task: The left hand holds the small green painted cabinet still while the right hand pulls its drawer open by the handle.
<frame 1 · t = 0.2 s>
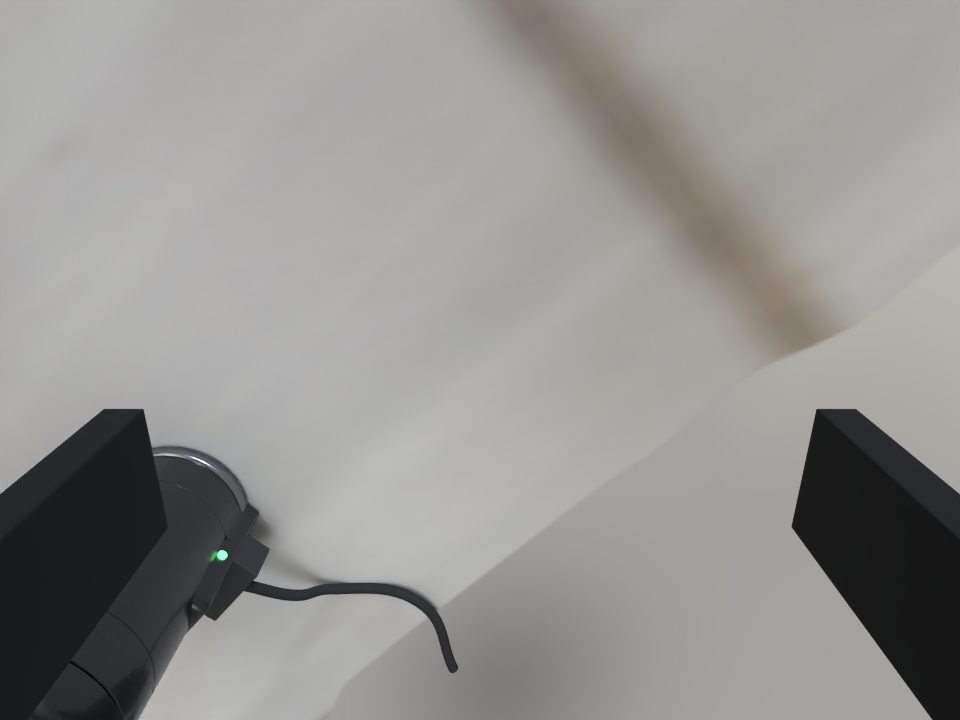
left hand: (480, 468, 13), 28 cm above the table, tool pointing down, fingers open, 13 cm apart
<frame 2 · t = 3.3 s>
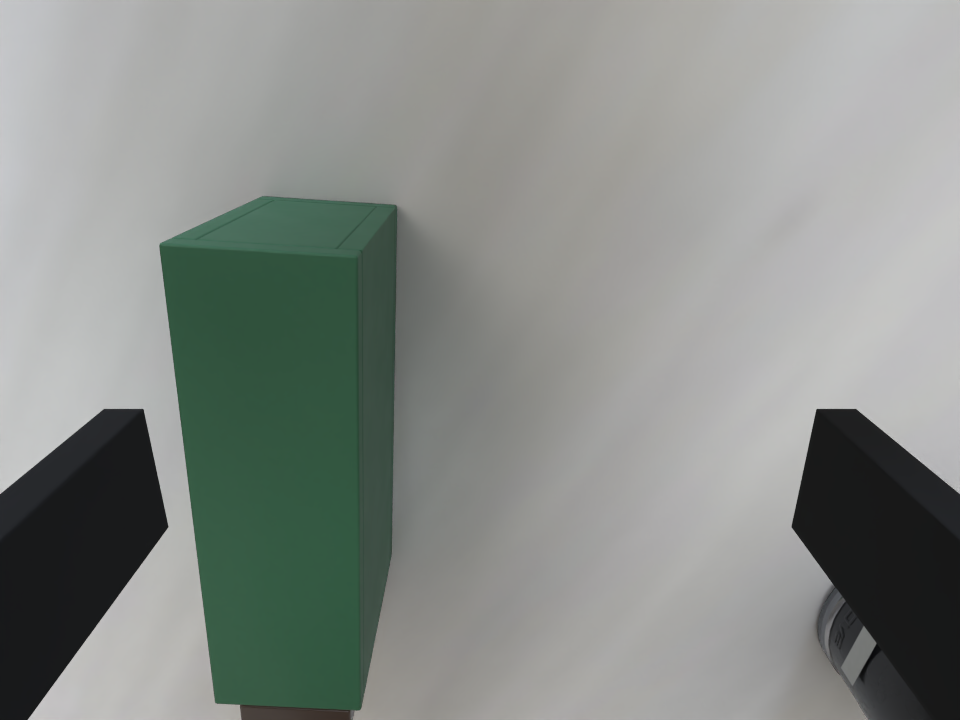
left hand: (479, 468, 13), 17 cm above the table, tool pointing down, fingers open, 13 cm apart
drawer: (313, 553, 29), point 5 cm above the table, slide at 1.1 cm
cabinet: (333, 395, 32), on the table
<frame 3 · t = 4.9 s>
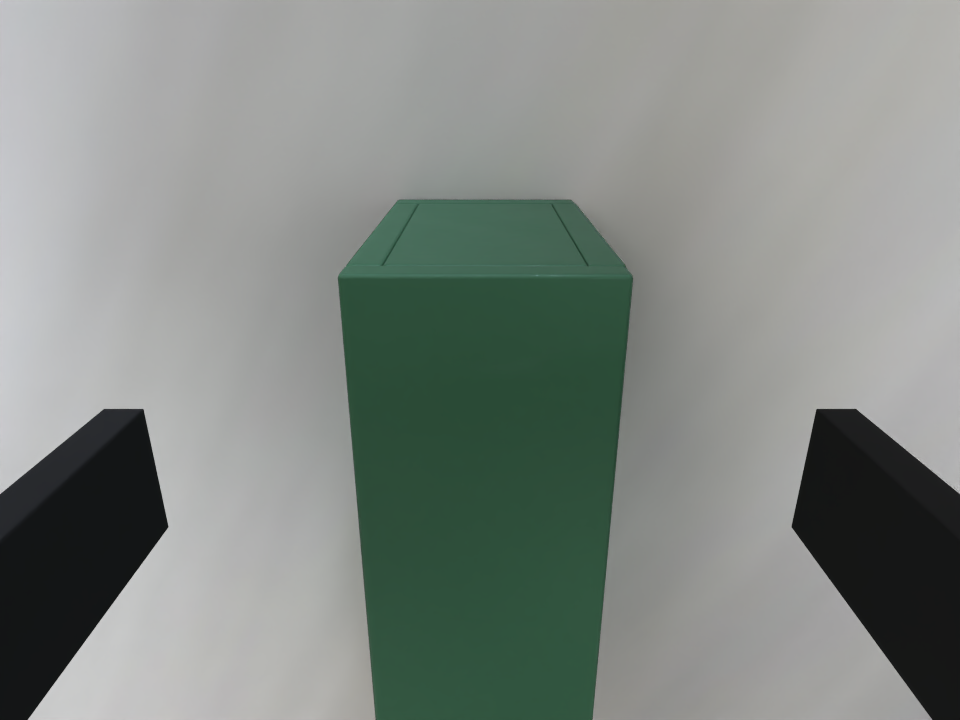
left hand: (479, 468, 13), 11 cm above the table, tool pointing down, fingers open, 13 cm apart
cabinet: (484, 444, 25), on the table
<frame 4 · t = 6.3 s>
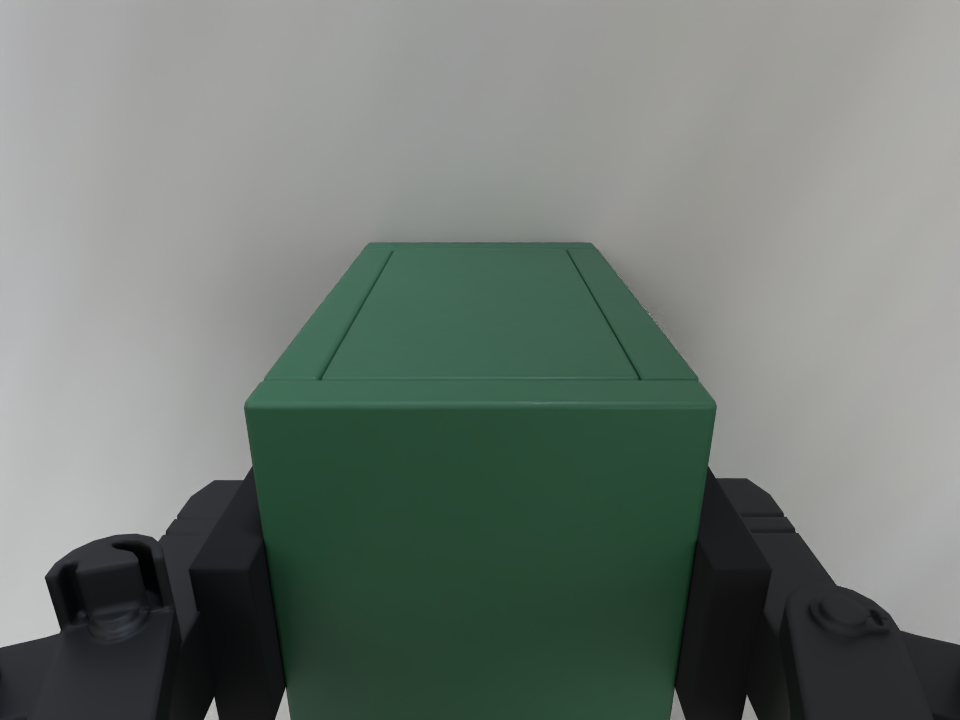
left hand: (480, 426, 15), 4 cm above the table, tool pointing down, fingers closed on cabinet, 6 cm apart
cabinet: (480, 538, 20), on the table, touching left hand
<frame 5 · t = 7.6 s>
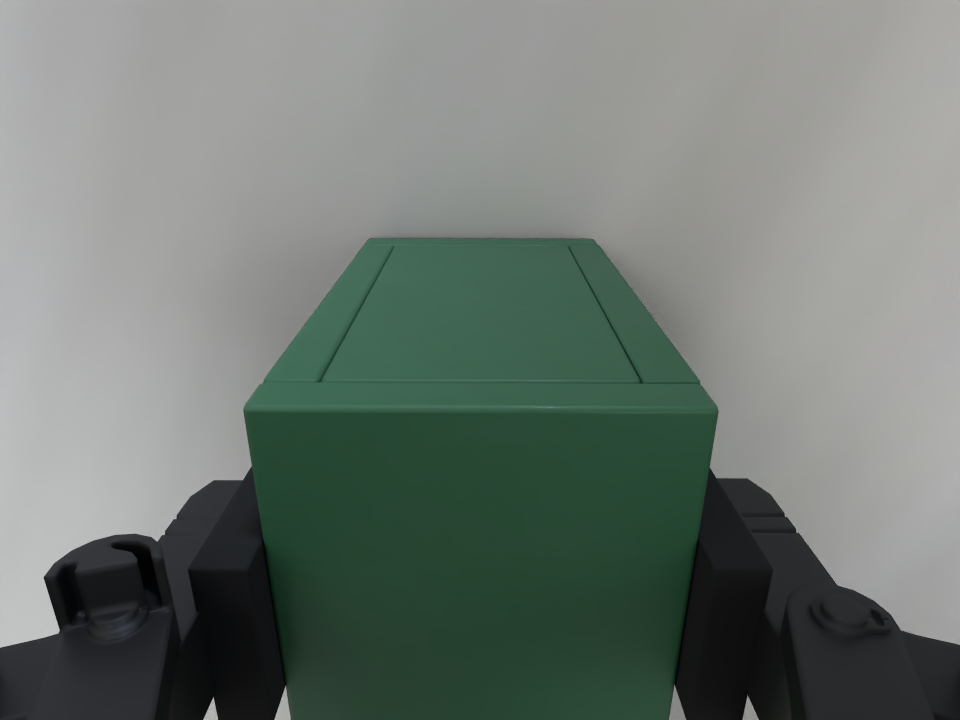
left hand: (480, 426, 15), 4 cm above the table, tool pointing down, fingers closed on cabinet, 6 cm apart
cabinet: (480, 533, 20), on the table, touching left hand
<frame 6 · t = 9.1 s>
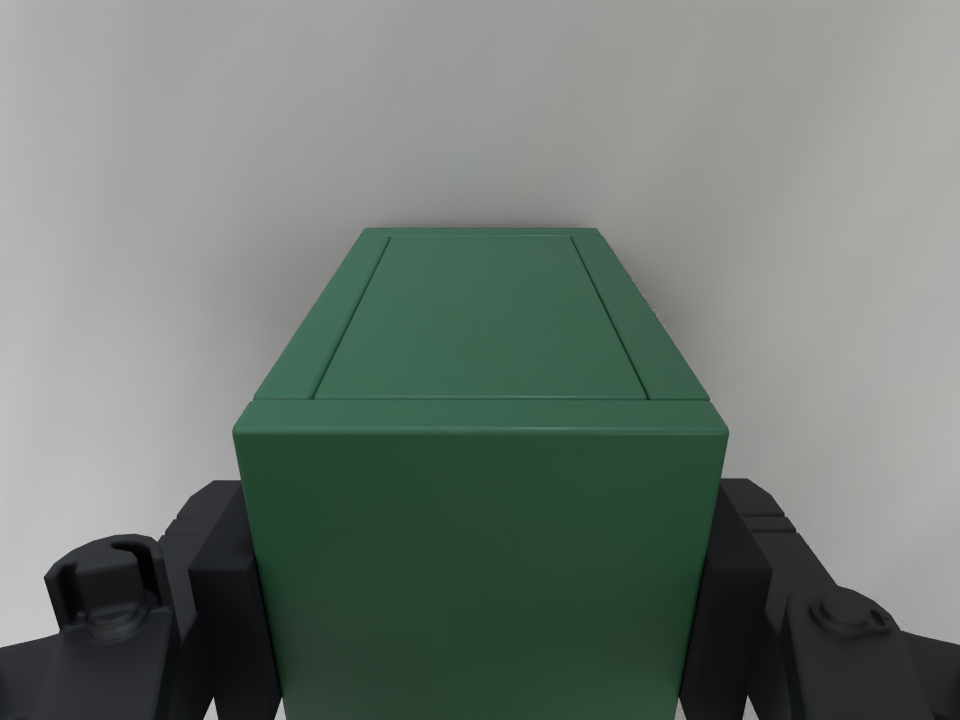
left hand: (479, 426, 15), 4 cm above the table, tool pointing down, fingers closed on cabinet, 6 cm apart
cabinet: (480, 524, 20), on the table, touching left hand
when the left hand's fingers open (4 cm above the table, at t = 10.4 s): cabinet stays where it is, on the table.
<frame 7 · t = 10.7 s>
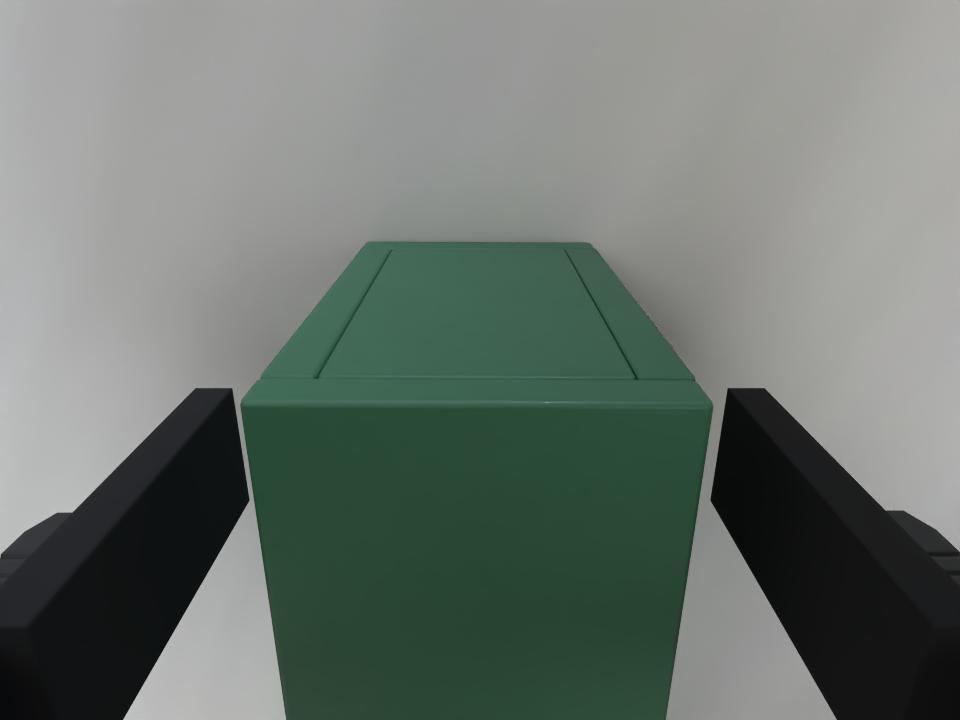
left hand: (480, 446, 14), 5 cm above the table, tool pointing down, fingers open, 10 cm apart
cabinet: (477, 538, 20), on the table
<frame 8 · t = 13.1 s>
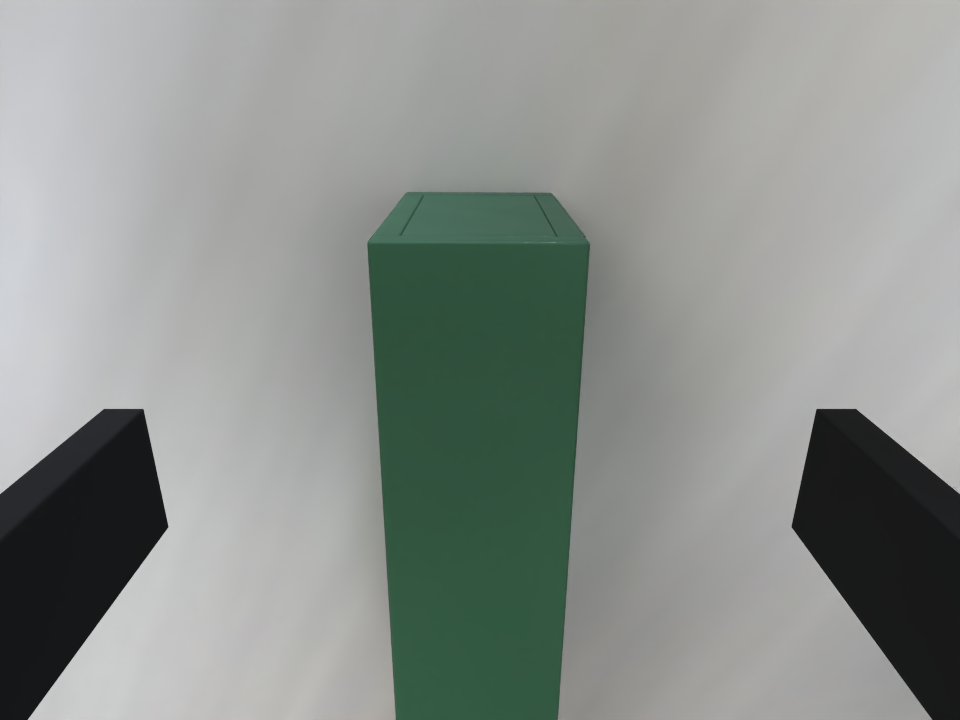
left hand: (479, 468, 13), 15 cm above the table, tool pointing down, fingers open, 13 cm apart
cabinet: (478, 403, 29), on the table
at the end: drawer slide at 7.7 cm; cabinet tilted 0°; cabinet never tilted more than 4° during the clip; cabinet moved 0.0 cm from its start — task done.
